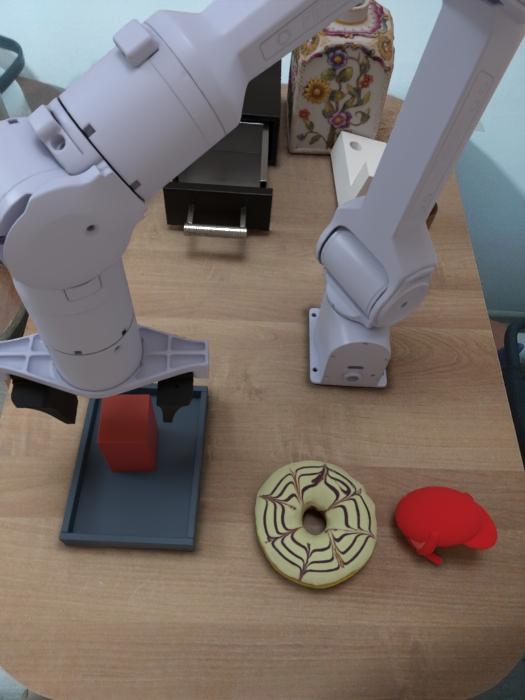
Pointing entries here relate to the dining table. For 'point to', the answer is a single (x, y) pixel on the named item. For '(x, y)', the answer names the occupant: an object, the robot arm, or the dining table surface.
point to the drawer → (224, 187)
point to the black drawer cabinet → (265, 104)
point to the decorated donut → (340, 514)
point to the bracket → (354, 165)
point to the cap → (444, 521)
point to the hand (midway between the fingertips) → (121, 412)
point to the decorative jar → (340, 79)
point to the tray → (139, 484)
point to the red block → (128, 433)
